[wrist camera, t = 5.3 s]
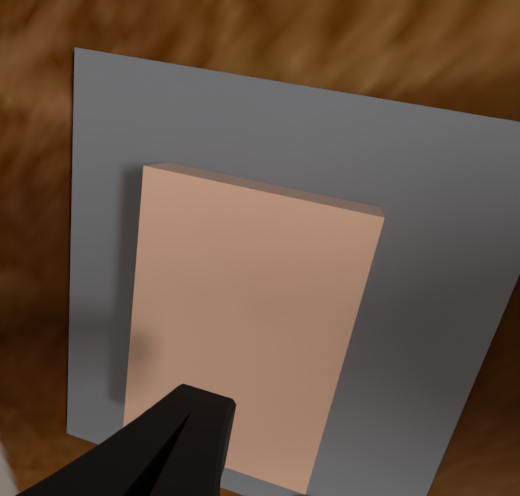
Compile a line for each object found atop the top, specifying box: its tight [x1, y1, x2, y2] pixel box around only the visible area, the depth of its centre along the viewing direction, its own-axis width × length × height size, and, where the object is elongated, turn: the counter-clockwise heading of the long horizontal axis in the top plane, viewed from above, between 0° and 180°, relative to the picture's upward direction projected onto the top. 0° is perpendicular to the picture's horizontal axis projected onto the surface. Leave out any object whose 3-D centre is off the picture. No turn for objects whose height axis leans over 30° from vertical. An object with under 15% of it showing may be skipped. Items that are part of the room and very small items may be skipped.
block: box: [123, 162, 385, 494], centre depth 13 cm, size 2×10×7 cm
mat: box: [67, 48, 520, 496], centre depth 14 cm, size 15×16×1 cm
